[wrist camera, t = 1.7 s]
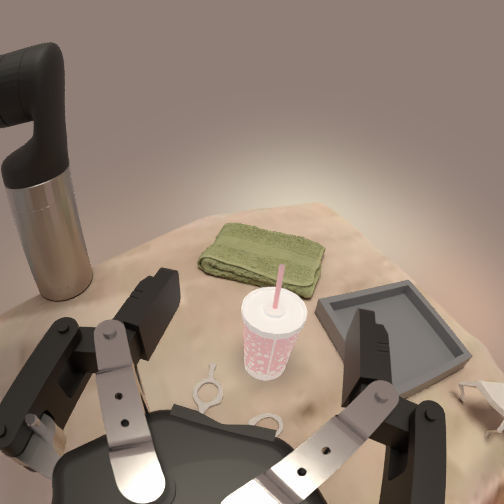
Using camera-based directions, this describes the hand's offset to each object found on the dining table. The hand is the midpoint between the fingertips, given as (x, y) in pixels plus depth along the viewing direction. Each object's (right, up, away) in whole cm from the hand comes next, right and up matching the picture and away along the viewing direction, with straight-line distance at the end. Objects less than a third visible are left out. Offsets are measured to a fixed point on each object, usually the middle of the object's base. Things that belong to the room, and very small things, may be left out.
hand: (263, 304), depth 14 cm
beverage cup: (+1, -10, +21) cm, 23 cm away
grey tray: (+18, -9, +24) cm, 31 cm away
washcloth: (+1, 0, +36) cm, 36 cm away
